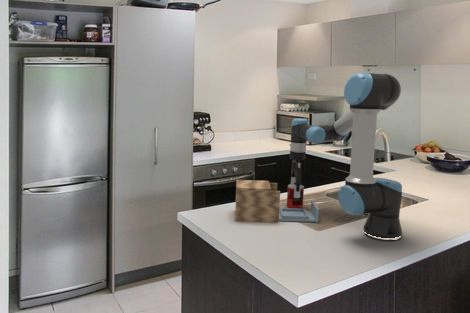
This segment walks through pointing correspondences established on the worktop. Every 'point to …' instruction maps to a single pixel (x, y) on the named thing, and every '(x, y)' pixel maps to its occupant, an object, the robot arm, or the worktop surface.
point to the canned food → (293, 201)
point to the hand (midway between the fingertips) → (294, 193)
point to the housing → (257, 201)
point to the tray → (299, 214)
